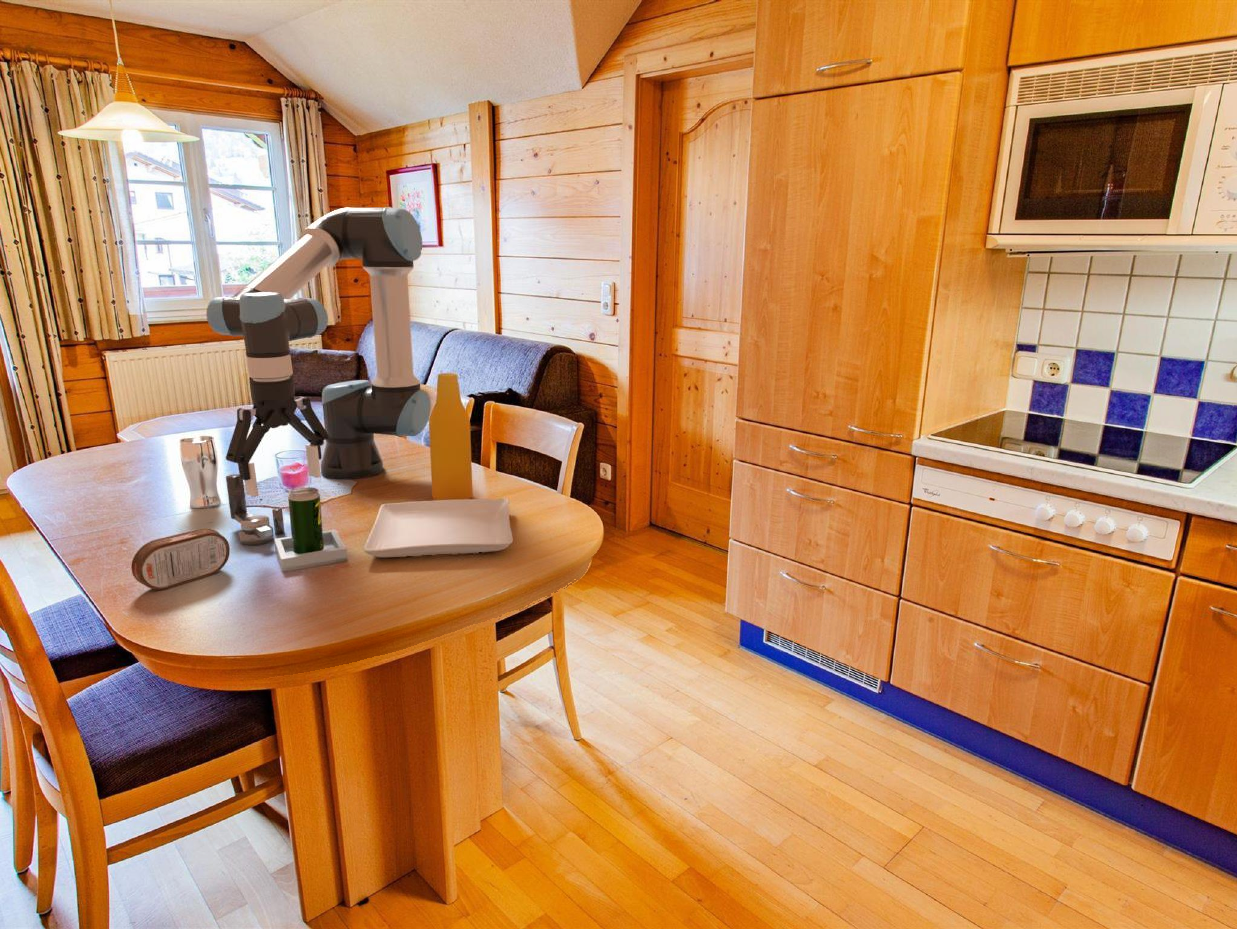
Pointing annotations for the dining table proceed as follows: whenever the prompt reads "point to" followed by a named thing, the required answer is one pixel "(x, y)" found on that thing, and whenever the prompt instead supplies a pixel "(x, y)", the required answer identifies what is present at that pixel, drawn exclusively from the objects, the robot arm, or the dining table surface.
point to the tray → (330, 553)
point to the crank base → (255, 539)
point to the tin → (180, 558)
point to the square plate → (440, 528)
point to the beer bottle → (450, 443)
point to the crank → (245, 509)
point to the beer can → (305, 520)
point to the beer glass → (200, 470)
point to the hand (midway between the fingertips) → (284, 485)
